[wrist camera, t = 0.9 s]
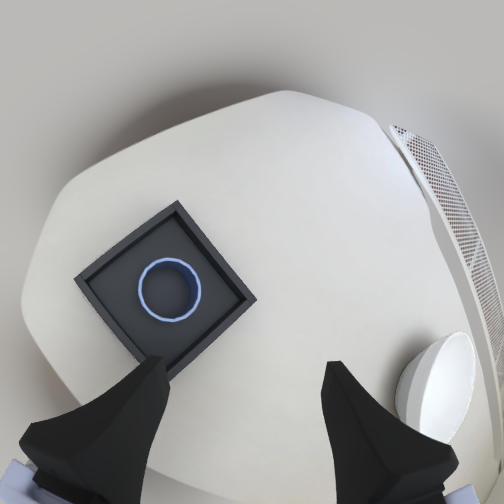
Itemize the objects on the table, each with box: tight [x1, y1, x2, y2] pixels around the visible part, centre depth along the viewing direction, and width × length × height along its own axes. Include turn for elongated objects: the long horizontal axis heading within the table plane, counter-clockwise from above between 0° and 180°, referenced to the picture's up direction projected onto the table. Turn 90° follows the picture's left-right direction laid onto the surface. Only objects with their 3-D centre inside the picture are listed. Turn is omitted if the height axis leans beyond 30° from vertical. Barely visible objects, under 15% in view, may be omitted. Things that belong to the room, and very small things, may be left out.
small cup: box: [137, 257, 201, 322], centre depth 25 cm, size 5×5×4 cm
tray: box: [74, 200, 257, 381], centre depth 26 cm, size 13×13×2 cm
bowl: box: [395, 331, 476, 444], centre depth 35 cm, size 20×19×8 cm
